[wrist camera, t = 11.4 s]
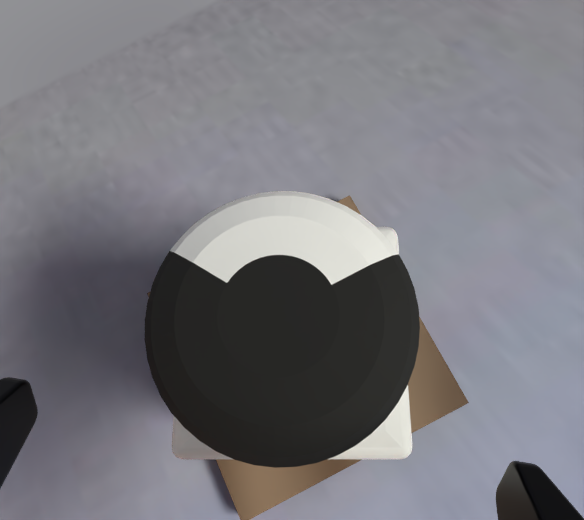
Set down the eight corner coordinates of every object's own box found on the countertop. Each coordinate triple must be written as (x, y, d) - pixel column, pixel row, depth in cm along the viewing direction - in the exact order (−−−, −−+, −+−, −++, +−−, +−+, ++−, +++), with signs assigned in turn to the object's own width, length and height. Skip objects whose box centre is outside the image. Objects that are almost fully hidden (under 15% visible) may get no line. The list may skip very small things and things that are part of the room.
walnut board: (245, 516, 20) (242, 523, 19) (154, 297, 23) (147, 293, 22) (461, 401, 21) (468, 402, 20) (348, 202, 24) (349, 195, 23)
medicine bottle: (379, 432, 20) (475, 508, 8) (217, 433, 20) (86, 508, 8) (371, 273, 22) (439, 149, 10) (222, 275, 22) (120, 158, 10)
